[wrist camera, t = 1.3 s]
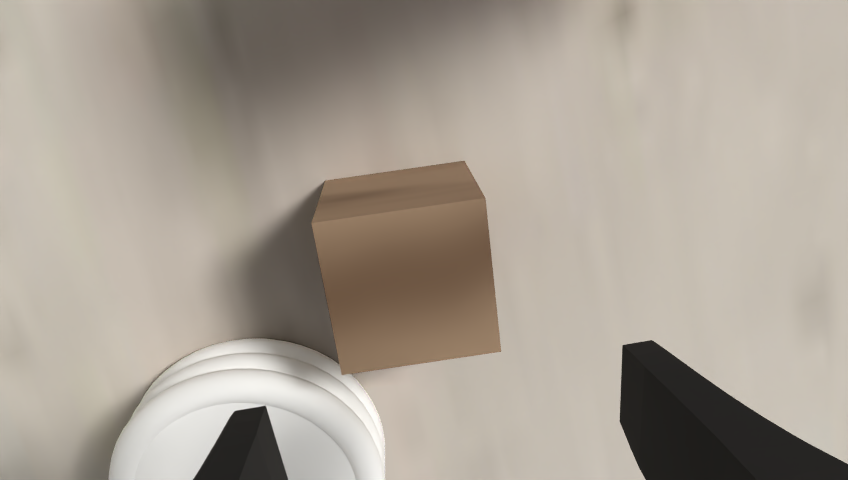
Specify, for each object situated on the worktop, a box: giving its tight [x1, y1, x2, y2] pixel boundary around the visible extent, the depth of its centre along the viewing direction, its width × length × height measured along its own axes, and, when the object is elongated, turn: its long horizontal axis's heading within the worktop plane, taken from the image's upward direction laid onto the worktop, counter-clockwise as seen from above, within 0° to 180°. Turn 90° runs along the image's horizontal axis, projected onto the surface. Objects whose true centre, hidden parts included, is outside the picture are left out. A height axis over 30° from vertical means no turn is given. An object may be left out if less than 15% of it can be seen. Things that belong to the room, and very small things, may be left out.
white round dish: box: [108, 338, 385, 480], centre depth 25 cm, size 10×10×4 cm
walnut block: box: [311, 161, 501, 375], centre depth 22 cm, size 5×5×5 cm
